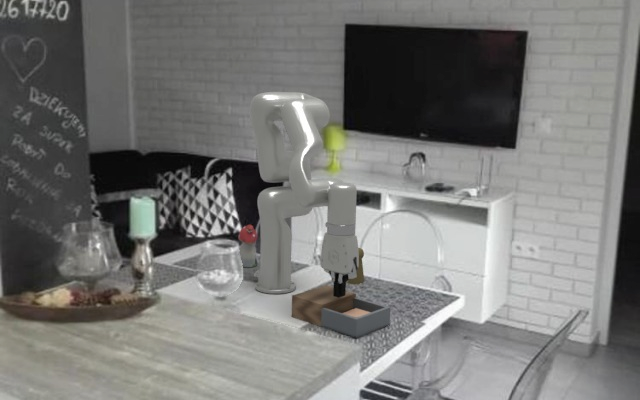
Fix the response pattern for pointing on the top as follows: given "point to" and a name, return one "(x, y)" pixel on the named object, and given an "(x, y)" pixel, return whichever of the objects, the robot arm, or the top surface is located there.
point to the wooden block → (319, 304)
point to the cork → (359, 273)
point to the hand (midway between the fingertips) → (339, 295)
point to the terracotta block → (356, 312)
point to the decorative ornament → (248, 246)
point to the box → (357, 319)
